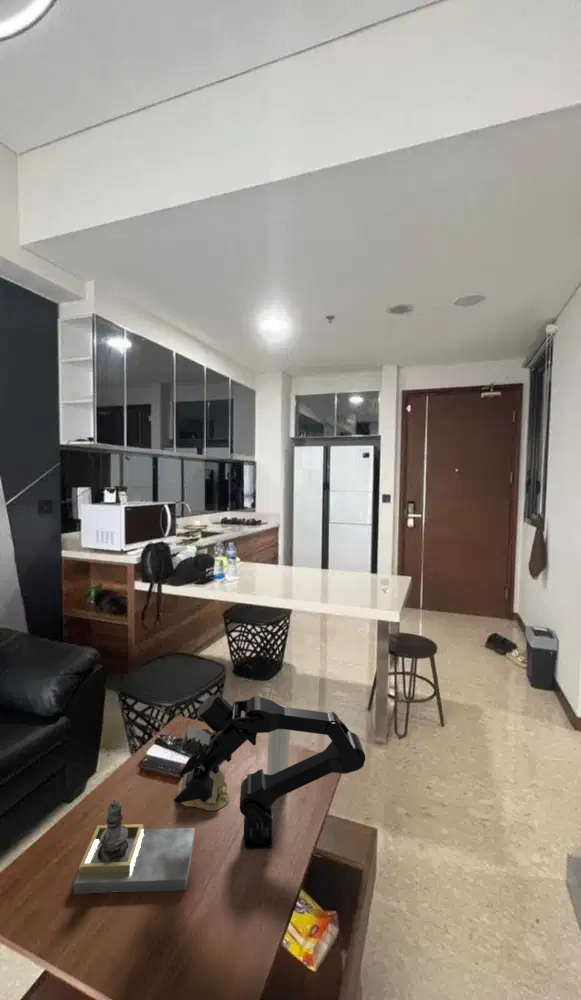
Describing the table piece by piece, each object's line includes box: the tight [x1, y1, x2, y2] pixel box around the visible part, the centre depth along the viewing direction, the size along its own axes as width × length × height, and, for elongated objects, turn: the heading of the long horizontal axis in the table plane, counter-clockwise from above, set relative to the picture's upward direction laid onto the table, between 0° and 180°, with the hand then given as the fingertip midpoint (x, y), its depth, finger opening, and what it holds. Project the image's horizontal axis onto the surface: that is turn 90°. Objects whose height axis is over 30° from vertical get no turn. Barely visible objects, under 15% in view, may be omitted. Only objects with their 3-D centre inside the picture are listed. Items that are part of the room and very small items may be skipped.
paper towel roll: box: [266, 705, 291, 775], centre depth 122 cm, size 7×6×21 cm
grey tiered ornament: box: [100, 799, 128, 861], centre depth 97 cm, size 6×6×12 cm
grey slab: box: [73, 823, 196, 895], centre depth 96 cm, size 23×13×4 cm, turn 94°
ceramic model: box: [177, 764, 230, 811], centre depth 117 cm, size 14×11×10 cm
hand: (178, 786), depth 102 cm, fingers open, 9 cm apart
